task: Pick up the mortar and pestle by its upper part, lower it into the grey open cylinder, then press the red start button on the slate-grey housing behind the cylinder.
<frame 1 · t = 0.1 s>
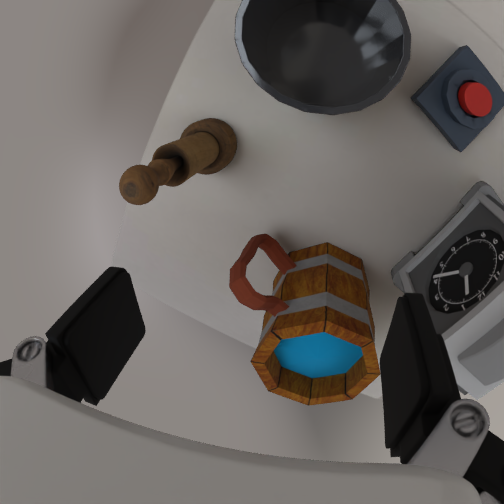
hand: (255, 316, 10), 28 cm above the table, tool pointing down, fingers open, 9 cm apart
mug: (307, 270, 42), on the table
mortar and pestle: (211, 144, 36), on the table
alarm clock: (461, 255, 36), on the table
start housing: (458, 97, 27), on the table
grey open cylinder: (322, 51, 28), on the table
start button: (475, 99, 23), point 4 cm above the table, slide at 0.1 cm
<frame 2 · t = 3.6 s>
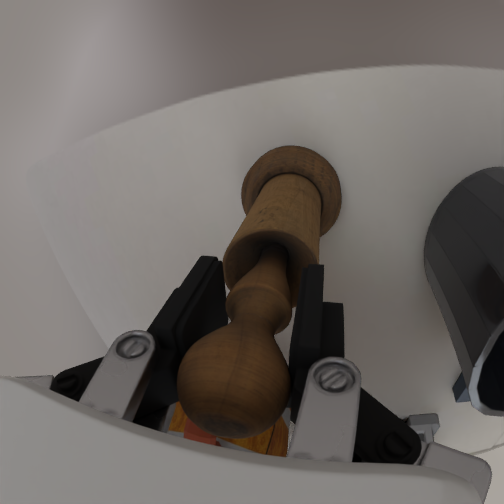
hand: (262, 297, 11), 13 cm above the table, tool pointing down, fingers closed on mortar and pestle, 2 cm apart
mug: (240, 368, 33), on the table
mortar and pestle: (293, 189, 22), on the table, touching gripper
alarm clock: (365, 439, 36), on the table
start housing: (498, 363, 26), on the table
grey open cylinder: (492, 244, 20), on the table
when the fingers open (13 cm above the table, at t = 11.5 s): mortar and pestle stays where it is, resting on grey open cylinder.
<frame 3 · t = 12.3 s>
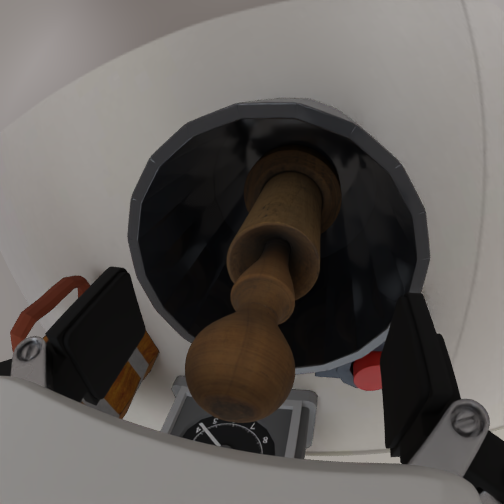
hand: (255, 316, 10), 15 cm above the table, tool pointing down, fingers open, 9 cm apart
mug: (109, 319, 36), on the table
mortar and pestle: (295, 187, 23), point 1 cm above the table, touching grey open cylinder
alarm clock: (247, 411, 39), on the table
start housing: (369, 337, 29), on the table
grey open cylinder: (294, 185, 23), on the table
start button: (373, 371, 25), point 4 cm above the table, slide at 0.1 cm
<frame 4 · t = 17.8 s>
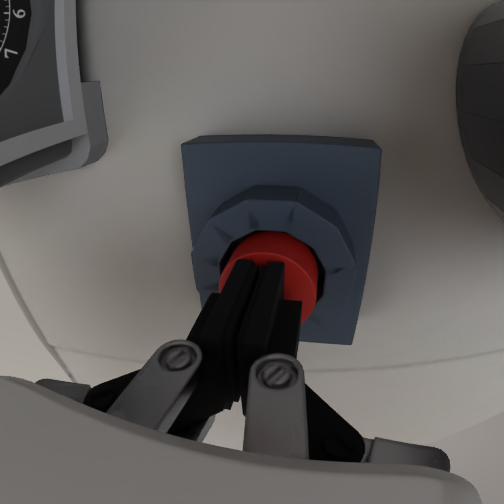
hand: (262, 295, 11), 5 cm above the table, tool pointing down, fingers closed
alarm clock: (25, 47, 13), on the table
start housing: (284, 235, 16), on the table
start button: (270, 282, 12), point 4 cm above the table, slide at -0.2 cm, touching gripper
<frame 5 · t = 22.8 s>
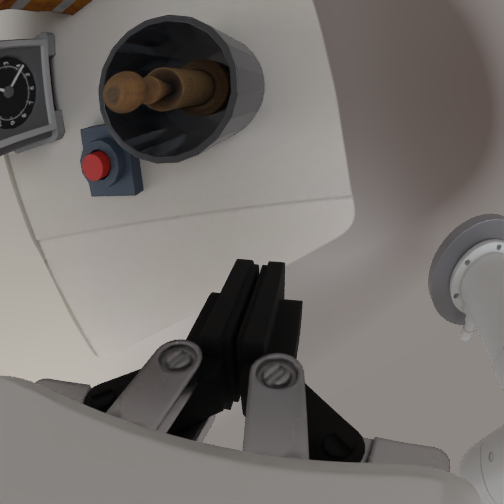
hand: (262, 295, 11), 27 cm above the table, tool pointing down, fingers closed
mortar and pestle: (207, 87, 32), point 1 cm above the table, touching grey open cylinder
alarm clock: (33, 93, 37), on the table
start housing: (115, 157, 40), on the table
grey open cylinder: (208, 87, 33), on the table
start button: (96, 165, 36), point 4 cm above the table, slide at 0.1 cm
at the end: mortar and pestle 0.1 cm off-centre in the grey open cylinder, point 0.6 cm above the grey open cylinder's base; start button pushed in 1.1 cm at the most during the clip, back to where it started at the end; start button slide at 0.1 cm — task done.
